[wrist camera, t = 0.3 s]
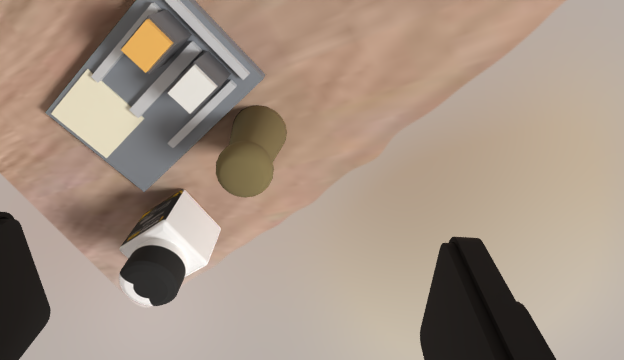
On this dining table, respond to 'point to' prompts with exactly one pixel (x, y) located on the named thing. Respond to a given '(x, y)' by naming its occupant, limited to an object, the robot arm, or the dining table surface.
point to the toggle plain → (199, 82)
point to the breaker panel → (150, 95)
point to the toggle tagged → (156, 41)
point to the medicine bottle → (166, 249)
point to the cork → (251, 151)
